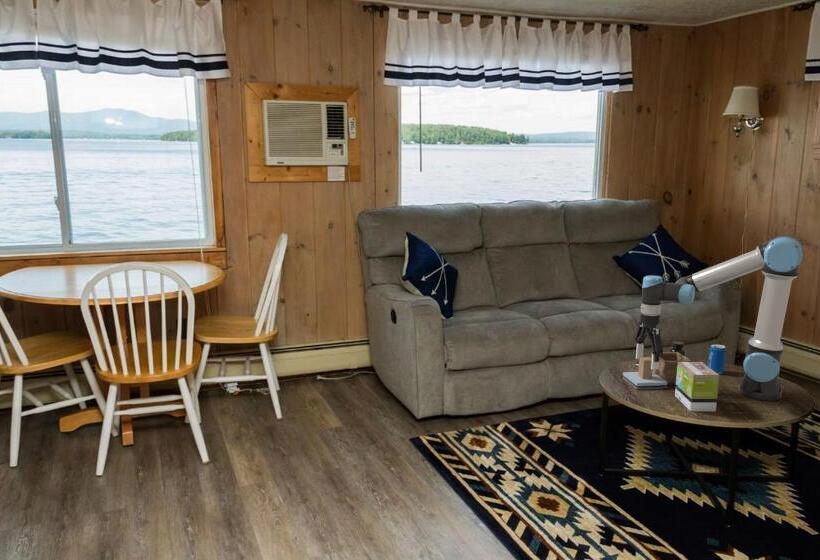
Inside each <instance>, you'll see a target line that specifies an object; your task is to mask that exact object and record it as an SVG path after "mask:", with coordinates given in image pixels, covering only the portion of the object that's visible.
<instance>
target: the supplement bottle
mask: <svg viewBox="0 0 820 560" xmlns="http://www.w3.org/2000/svg"><path fill="white" fill-rule="evenodd" d="M684 347H685V343H684V342H682V341H672V342H671V347H670V348H669V350H668V352H678V353H680V354H681V355H683V356H685V357H686V353H687V351H686V349H684Z"/></svg>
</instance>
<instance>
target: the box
mask: <svg viewBox="0 0 820 560" xmlns="http://www.w3.org/2000/svg"><path fill="white" fill-rule="evenodd" d="M652 353H653V352H650V358H651V359H652ZM678 362H693V360H692V359H689V357H686V356H683V355H681V354H680V353H678V352H669V351H666V352H664V351H663V354H660V355H659V368H658V369H653V371H652V372H654V373H655V374H657V375H658V376H659V377H661V378H662V379H664V380H665V381H667V382H668V383H667V384H672V385H676V378H677V366H678Z"/></svg>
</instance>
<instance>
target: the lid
mask: <svg viewBox="0 0 820 560" xmlns="http://www.w3.org/2000/svg"><path fill="white" fill-rule="evenodd" d="M638 360H639V363H638V371H627V372H626V371H624V372H622V376H623V377H626V378H627V379H629V380H630V381H631V382H632V383H634V384H635V385H636V386H660V385H665V386H668V385H667V383H668V382H667V381H665V380H664V379H662V378H661V377H659V376H658V375H657V374H655V373H654V372H652V371H653V369H651V364H652V359H651V357H650V356H646V357H645V356H643V357H640V359H638Z"/></svg>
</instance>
